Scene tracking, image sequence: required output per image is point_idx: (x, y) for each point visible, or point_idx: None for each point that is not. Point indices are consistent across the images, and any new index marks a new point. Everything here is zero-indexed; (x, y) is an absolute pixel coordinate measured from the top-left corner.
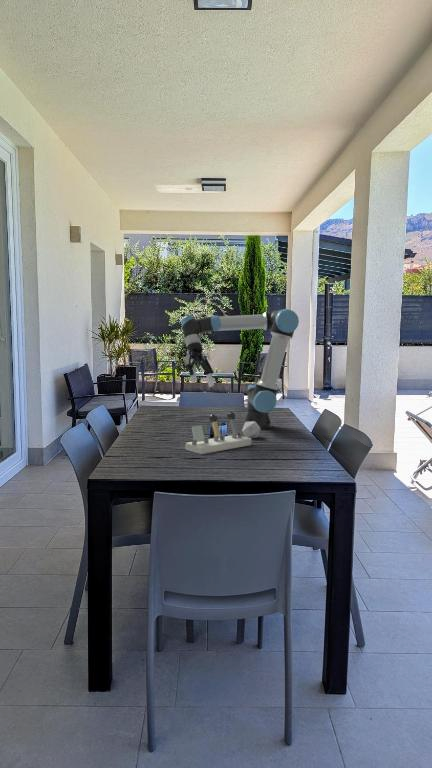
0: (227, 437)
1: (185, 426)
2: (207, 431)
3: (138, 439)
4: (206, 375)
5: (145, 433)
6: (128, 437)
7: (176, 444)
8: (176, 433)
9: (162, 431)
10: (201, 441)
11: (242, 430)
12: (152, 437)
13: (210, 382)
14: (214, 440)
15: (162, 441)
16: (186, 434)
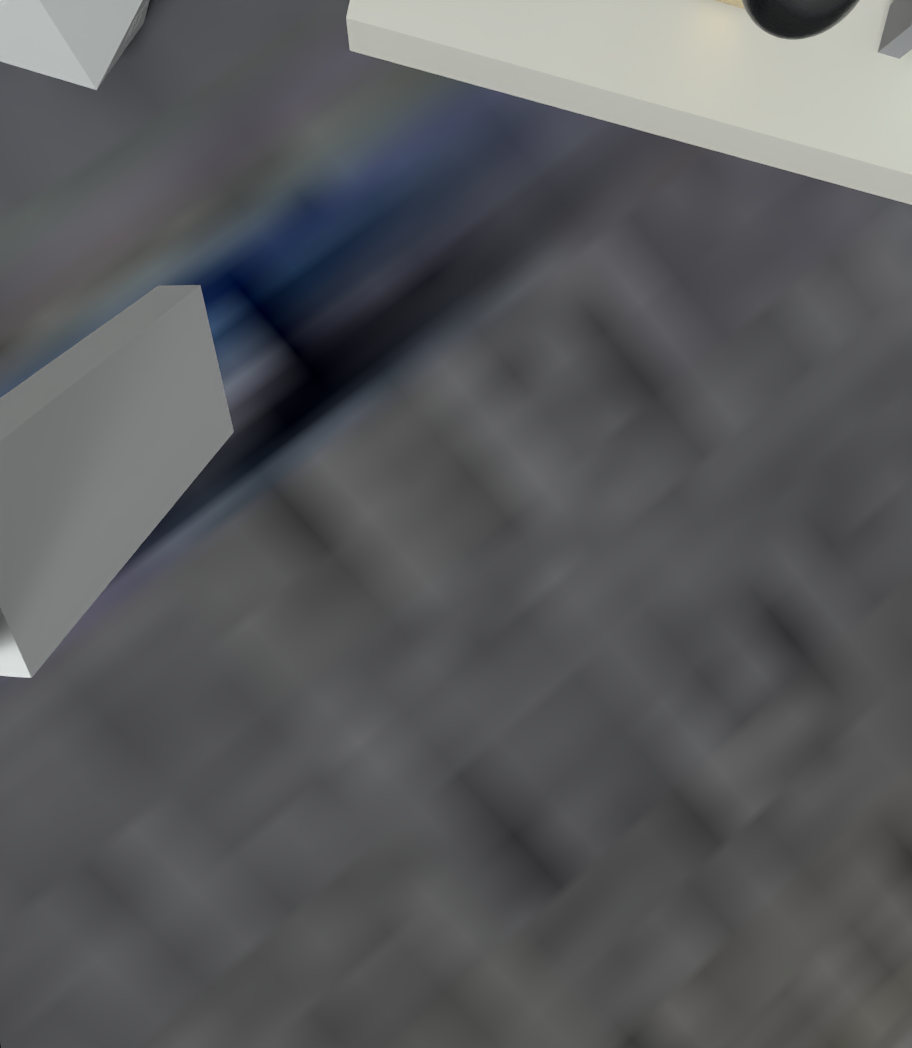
0: (533, 4)
1: (92, 950)
2: (147, 589)
3: (903, 842)
4: (34, 653)
5: (658, 990)
6: (894, 971)
7: (855, 426)
8: (457, 767)
9: (473, 940)
10: (869, 113)
11: (108, 65)
12: (757, 809)
13: (166, 399)
14: None
15: (835, 615)
16: (428, 657)
